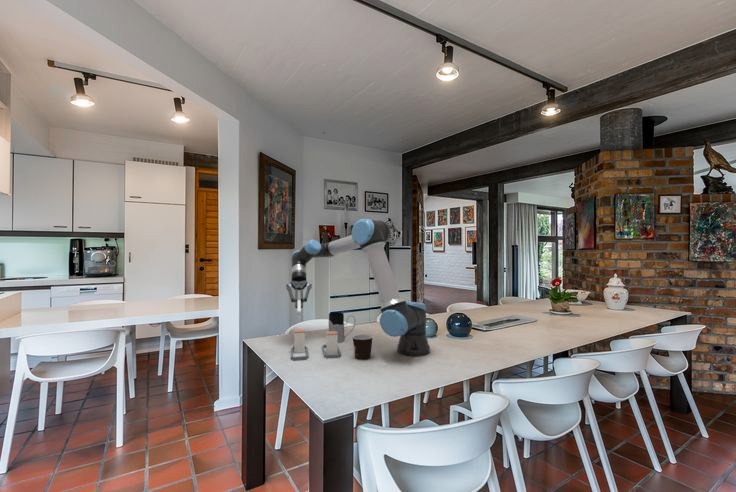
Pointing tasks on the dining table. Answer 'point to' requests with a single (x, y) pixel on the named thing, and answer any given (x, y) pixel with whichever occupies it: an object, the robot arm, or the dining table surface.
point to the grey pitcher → (338, 325)
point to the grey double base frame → (308, 355)
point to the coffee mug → (362, 346)
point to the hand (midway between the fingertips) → (299, 313)
